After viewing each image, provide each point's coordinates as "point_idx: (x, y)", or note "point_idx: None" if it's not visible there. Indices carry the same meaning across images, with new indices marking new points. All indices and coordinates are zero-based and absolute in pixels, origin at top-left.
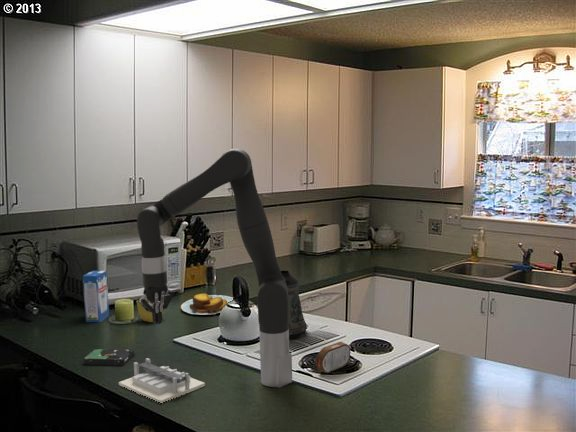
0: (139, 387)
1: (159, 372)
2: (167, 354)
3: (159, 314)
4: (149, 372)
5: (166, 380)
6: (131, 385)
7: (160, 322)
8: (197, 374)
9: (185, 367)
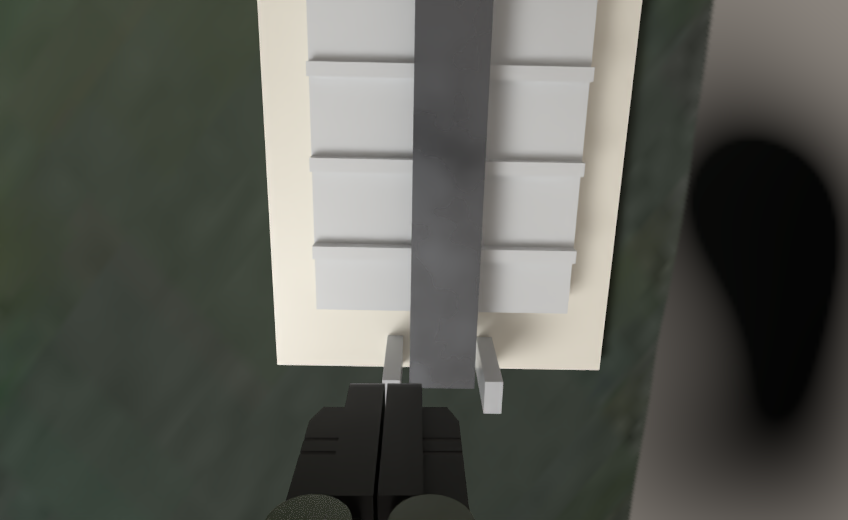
0: (583, 207)
1: (481, 149)
2: (117, 513)
3: (374, 469)
4: None
5: None
6: (590, 271)
7: (371, 386)
8: (170, 114)
9: (157, 272)
